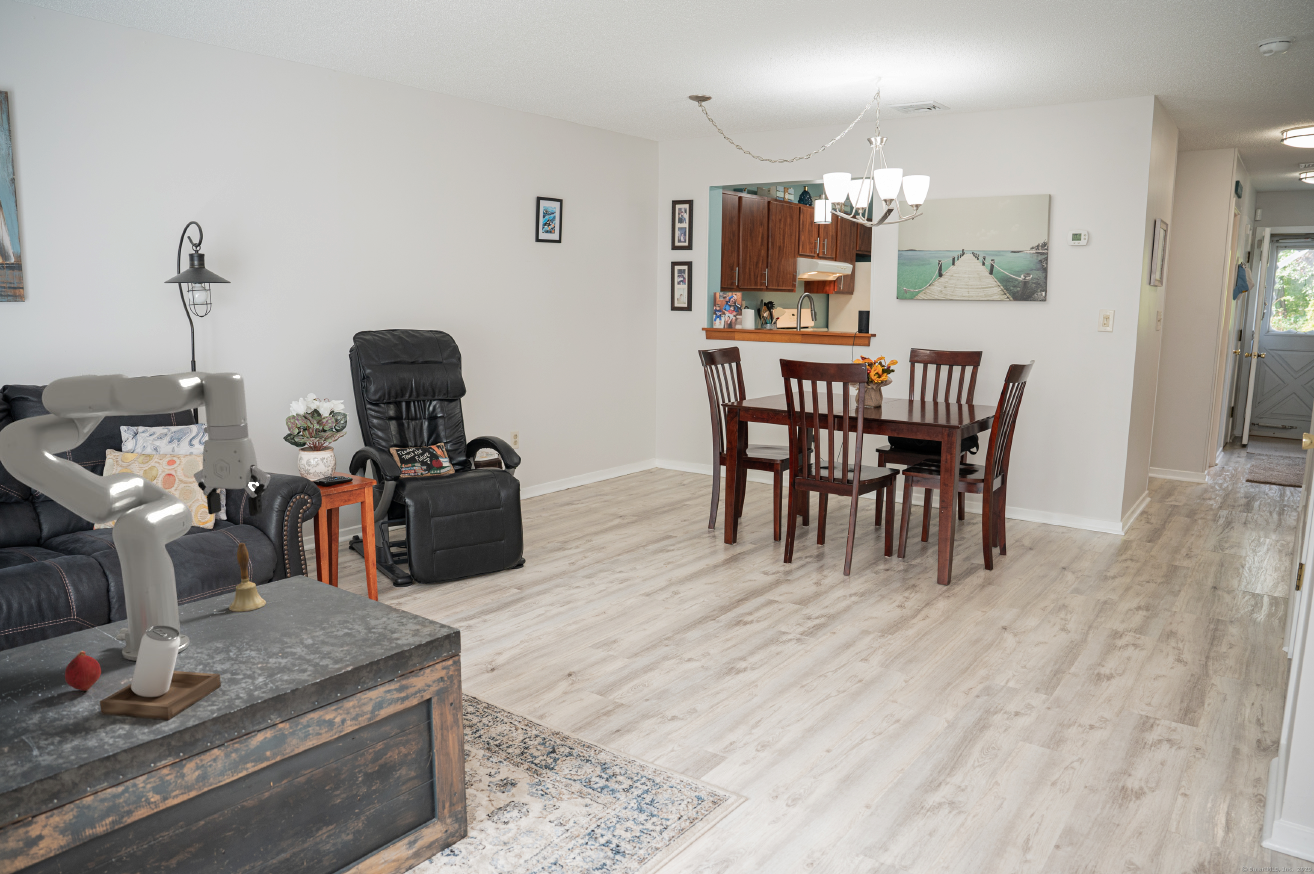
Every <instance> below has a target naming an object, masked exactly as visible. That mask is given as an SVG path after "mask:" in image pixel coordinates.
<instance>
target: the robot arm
mask: <svg viewBox="0 0 1314 874" xmlns="http://www.w3.org/2000/svg"><path fill="white" fill-rule="evenodd" d="M244 381H245V380H244V377H243V376H242V375H241V374H240V373H237V372H215V373H212V372H211V373H210V372H203V371H188V372H187V371H186V372H179V373H173V374H166V375H156V376H141V377H129V376H128V375H125V374H124V373H123V374H121V373H118V374H117V373H115V374H103V375H98V374H97V375H96V374H84V375H83V374H82V375H77V376H75V375H74V376H67V377H61V378H57V379H56V380H53V381H52V382H50V383H48V385H46V386H45V388H44V389H43V390H42V394H41V395H42V396H41V400H42V401H41V402H42V404H43V406H44V408H45V410H46V411H48V412H49V414H42V415H37V416H31V417H26V418H23V419H19V420H15V421H14V422H11V423H9V424H8V425H6V426H5V427H4V428H2V429H1V430H0V462H1V463H2V466H3V467H4V469H5V470H6V471H7V473H9V474H10V475H11V476H12V477H14V478H15V479H16V480H17V481H19V482H20V483H22V484H24V485H26V486H27V487H29V488H31V489H33V490H35V491H37V492H39V493H40V494H42V495H45V496H46V497H48V498H50V499H51V500H53V501H54V502H55V503H57V504H58V505H61V506H63V508H66V509H67V510H69V511H70V512H72V513H74V514H75V515H77V516H79V517H81V518H82V519H84V520H85V521H88V522H89V523H91V524H97V525H102V524H103V525H104V524H108V523H110V522H114V521H115V522H114V524H113V527H112V540H113V543H114V546H115V549H116V552H117V554H118V555H117V556H118V559H119V563H120V568H121V575H122V585H123V592H124V601H125V609H126V619H127V627H122V628H121V629H120V630H119V631H118V634H116V636H115V639H116V641H120V642H121V641H123V642H124V641H125V646H124V647H123V649H122V653H121V654H122V657H123V658H124V659H125V660H128V661H137V657H138V652H139V648H140V644H141V640H142V637H143V636H144V635H145V633H146V630H147V629H148V628H150V627H152V626H158V625H164V626H170V627H173V628H175V629H177V630H178V631H179V633H180V635H179V638H180V645H179V650H178V654H179V653H181V652H183V651H184V650H186V649H187V648H188V647H189V646H190V644H191V643H190V637H188V636H187V635H184V634H182V633H181V626H180V616H179V615H180V614H179V608H178V607H179V606H178V597H177V588H176V587H177V585H176V577H175V576H176V575H175V568H174V564H173V561H172V558H171V556H170V554H169V553H168V550H167V549H166V545H167V544H169V543H171V542H172V541H176V540H177V539H179V538H181V537H183V536H184V535H185V534H187V533H188V532H189V530H191V528H192V525H193V519H194V518H193V514H192V512H191V509H190V507H189V506H188V504H186V503H185V502H184V501H183V500H182V499H180V498H179V497H177V496H175V495H174V494H173V493H170V491H167V490H166V489H164V488H163V487H161V486H159V485H157V483H154V482H152V481H151V480H150V479H147V478H146V477H144V476H143V475H140V474H136V473H134V472H128V471H127V472H126V471H123V472H116V473H112V474H110V475H109V474H108V475H105V476H104V475H103V476H102V475H98V474H96V473H94V472H91V471H90V470H88V469H86V468H84V467H83V466H81V464H79V463H76V462H75V461H72V460H68V459H65V458H61V457H59V456H56V455H54V454H60V453H63V452H67V451H71V450H73V449H76V448H77V447H79V446H81V444H82V443H84V442H85V441H86V440H87V438H88V437H89V436H90V434H92V432H93V431H94V430H95V429H96V428H98V427H97V426H98V425H99V424H100V423H101V421H103V419H104V418H105V417H113V416H144V415H147V416H148V415H159V414H160V415H162V414H163V415H165V414H173V413H179V412H183V411H187V410H193V409H198V408H202V407H205V419H206V420H205V421H206V426H205V427H204V428H203V433H204V434H207V439H205V440H204V443H203V444H204V445H203V451H202V469H200V470H198V471H197V472H195V473H194V474H193V478H194V480H195V482H196V483H197V487H198V488H199V489H200V490H201V491H202V493H203V496H206V504H207V511H208V513H207V514H208V515H214V514H217V513H219V512H221V511H222V502H221V494H220V492H218V491H219V490H221V489H222V490H224V489H225V490H241V489H244V490H245V491H246V492H247V493H248V494H249V497H248V498H247V501H248V515H249V516H250V517H254V516H255V517H256V516H257V515H261V514H262V513H263V504H262V503H263V501H262V495H264V492H265V491H266V490H267V489H268V487H269V485H270V484H269V483H270V481H271V478H272V476H271V475H270V474H269V473H267V472H266V471H263V470H262V469H260V468H259V467H258V463H257V462H258V461H257V457H256V452H255V447H254V444H253V441H252V438H249V429H248V427H249V425H248V418H247V402H246V393H245V392H246V390H245V382H244ZM259 480H260V481H259Z"/></svg>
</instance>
